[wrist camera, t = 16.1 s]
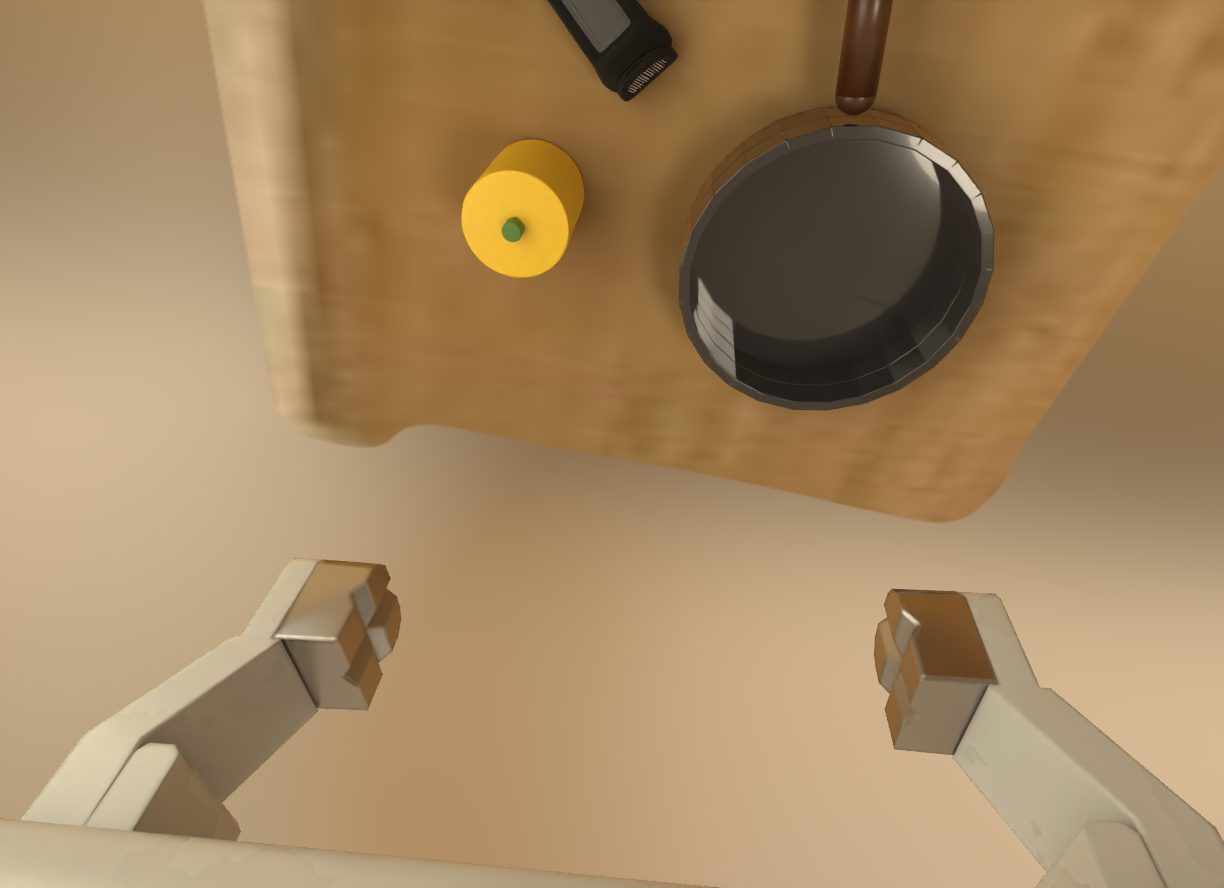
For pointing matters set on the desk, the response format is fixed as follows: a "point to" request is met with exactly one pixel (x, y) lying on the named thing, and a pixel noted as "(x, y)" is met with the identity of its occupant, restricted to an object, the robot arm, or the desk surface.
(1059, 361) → the desk surface
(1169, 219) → the desk surface
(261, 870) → the robot arm
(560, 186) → the yellow pepper
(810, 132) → the pan
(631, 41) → the electric trimmer
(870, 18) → the pan handle
